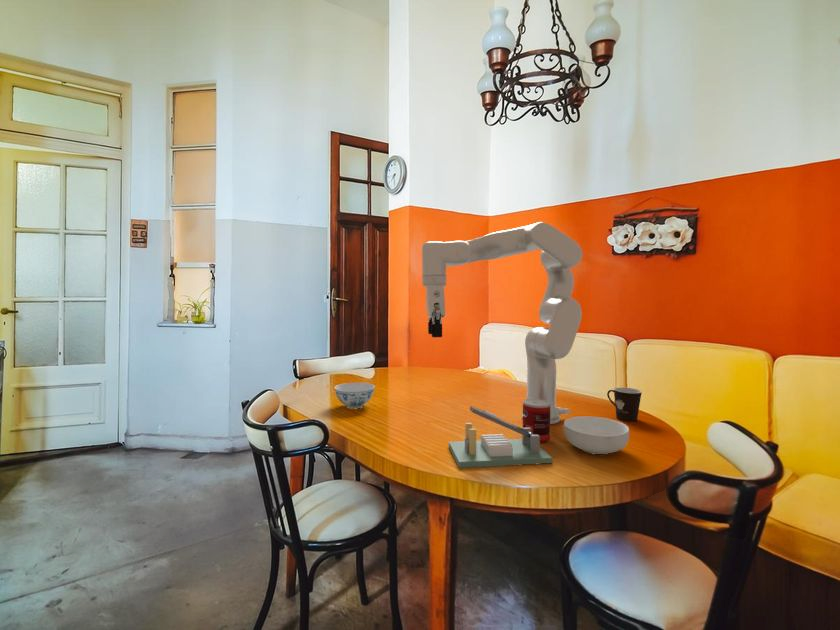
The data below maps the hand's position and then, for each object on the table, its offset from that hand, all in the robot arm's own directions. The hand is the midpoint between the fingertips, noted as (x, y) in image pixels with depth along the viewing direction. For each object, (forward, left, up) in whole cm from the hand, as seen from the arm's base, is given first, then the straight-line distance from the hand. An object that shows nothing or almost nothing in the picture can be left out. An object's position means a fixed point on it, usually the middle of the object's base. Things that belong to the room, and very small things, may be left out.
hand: (435, 335), depth 131 cm
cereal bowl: (-42, +23, -30) cm, 56 cm away
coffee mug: (-68, -4, -30) cm, 74 cm away
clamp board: (-14, +24, -30) cm, 41 cm away
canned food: (-29, +13, -30) cm, 43 cm away
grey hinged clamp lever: (-14, +24, -22) cm, 36 cm away
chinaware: (+26, -27, -30) cm, 48 cm away
